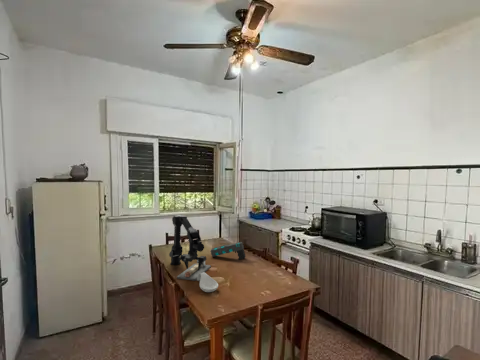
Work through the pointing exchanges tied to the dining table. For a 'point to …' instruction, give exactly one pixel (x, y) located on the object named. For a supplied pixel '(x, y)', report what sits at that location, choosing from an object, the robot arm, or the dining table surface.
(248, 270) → the dining table surface
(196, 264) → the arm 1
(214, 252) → the gun
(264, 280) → the dining table surface
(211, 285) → the spoon rest
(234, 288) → the dining table surface
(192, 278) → the board
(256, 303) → the dining table surface
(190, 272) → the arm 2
